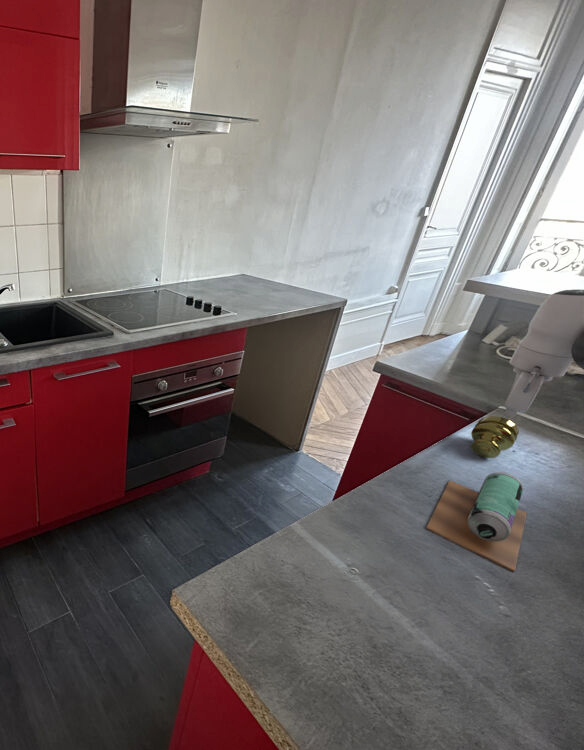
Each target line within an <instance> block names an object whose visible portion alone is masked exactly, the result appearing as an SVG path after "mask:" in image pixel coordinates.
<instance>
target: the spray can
mask: <svg viewBox="0 0 584 750" xmlns="http://www.w3.org/2000/svg"><path fill="white" fill-rule="evenodd" d="M523 490H524V487H523V483H522V482H521V481H520V480H519V479H518V478H517V477H516V476H514V475H512V474H509V473H505V472H492V473H490V474H488V475H487V476H486V477H485V478H484V480H483V482H482V484H481V487H480V489H479V491H478V493H479V494H478V496H477V498H476V501H475V503H474V505H473V507H472V510H471V512H470V514H469V517H468V527H469V529H470V530H471V531H472V533H474V534H475V535H476V536H478V537H479V538H481V539H484V540H487V541H492V542H499V541H503V540H505V539H506V538H507V537H508V536H509V534H510V532H511V528H512V525H513V521H514V518H515V515H516V511H517V509H519V508H518V507H519V504H520V501H521V498H522V495H523V492H524V491H523Z"/></svg>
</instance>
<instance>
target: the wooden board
mask: <svg viewBox="0 0 584 750" xmlns="http://www.w3.org/2000/svg"><path fill="white" fill-rule="evenodd" d="M478 494H479V491H476V490H473V489H471V488H468V487H467V486H464V485H462V484H459V483H456V482H454V481H452V480H449V481H448V482H447V485H446V487H445V489H444V491H443V493H442V495H441V497H440V499H439V500H438V503H437V505H436V507H435V509H434V511H433V513H432V515H431V517H430V519H429V521H428V522H427V525H426V528H425V529H426V530H429V531H430V532H432V533H434V534H435V535H438V536H441V537H443V538H445V539H446V540H449V541H451V542H452V543H455V544H457V545H459V546H461V547H463V548H464V549H467V550H469V551H471V552H473V553H474V554H477V555H479V556H481V557H483V558H485V559H487V560H489V561H491V562H493V563H495V564H496V565H499V566H501V567H503V568H504V569H507V570H509V571H511V572H513V573H514V572H515V571H516V569H517V563H518V558H519V553H520V550H521V549H520V548H521V543H522V539H523V535H524V529H525V526H526V525H525V524H526V519H527V514H528V513H527V512H526V511H524V510H521V509H519V508H517V511H516V515H515V518H514V521H513V525H512V528H511V532H510V534H509V536H508V537H507V538H506V539H505V540H503V541H499V542H492V541H487V540H484V539H481V538H479V537H478V536H476V535H475V534H474V533H472V531H471V530H470V529H469V527H468V517H469V514H470V512H471V510H472V507H473V505H474V503H475V501H476V498H477V496H478Z"/></svg>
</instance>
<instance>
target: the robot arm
mask: <svg viewBox="0 0 584 750" xmlns="http://www.w3.org/2000/svg"><path fill="white" fill-rule="evenodd" d="M573 361H574V363H575V364H576V365H577V366H578V367H579V368H580V369H582V370H583V371H584V289H563V290H560V291H557V292H554V293H551V294H550V295H549V296H547V297H546V299H544V301H543V302H542V303H541V304H540V306H539V307H538V309H537V310H536V312H535V314H534V315H533V317H532V319H531V321H530V323H529V324H528V330H527V333H526V335H525V336H524V337H523V338H522V339H521V340H520V341H519V343H518V345H517V346H516V349H515V350H514V352H513V354H512V356H511V357H510V360H509V364H510V365H511V366H512V367H513V369H512V371H513V373H515V378H514V381H513V383H512V386H511V388H510V391H509V392H508V395H507V398H506V400H505V402H504V405H503V406H504V408H505V411H504V413H503V415H504V416H505V417H508V418H511V419H512V418H515V417H516V415H517V414H518V413H520V414H525V413H527V411H529V410H530V408H531V406H532V404H533V402H534V400H535V399H536V397H537V395H538V393H539V392H540V390H541V388H542V386H543V383H544V382H550V381H551V382H552V380H553V379H554V378H561V377H564V376H565V374H566V373H567V371H568V370H569V368H570V366H571V365H572V363H573Z"/></svg>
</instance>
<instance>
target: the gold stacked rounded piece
mask: <svg viewBox="0 0 584 750" xmlns="http://www.w3.org/2000/svg"><path fill="white" fill-rule="evenodd" d="M470 435H471V438H472V441H473V442H472V443H471V445H470V448H471V451H472V452H473V453H474V454H476V455H477V456H479V457H481V458H485V459H495V458H497V457H499V456H500V455H501V452H503V451H507V450H509V449H511V448H512V447H513V446H514V444H515V442H516V441H517V440H518V437H519V435H520V430H519V428H518V426H517V425H516V423H514V422H513V421H512V420H510V419H507V418H506V417H502V416H497V415H489V416H483V417H482V418H480V419H479V420H478V421H477V423H476V424H475V425H474V427H473V428H472V430H471V434H470Z"/></svg>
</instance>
